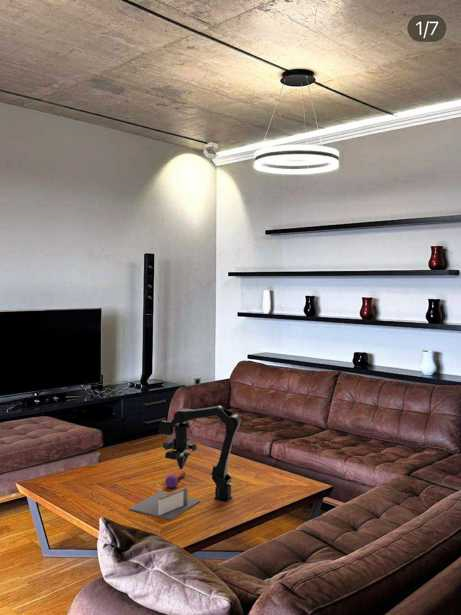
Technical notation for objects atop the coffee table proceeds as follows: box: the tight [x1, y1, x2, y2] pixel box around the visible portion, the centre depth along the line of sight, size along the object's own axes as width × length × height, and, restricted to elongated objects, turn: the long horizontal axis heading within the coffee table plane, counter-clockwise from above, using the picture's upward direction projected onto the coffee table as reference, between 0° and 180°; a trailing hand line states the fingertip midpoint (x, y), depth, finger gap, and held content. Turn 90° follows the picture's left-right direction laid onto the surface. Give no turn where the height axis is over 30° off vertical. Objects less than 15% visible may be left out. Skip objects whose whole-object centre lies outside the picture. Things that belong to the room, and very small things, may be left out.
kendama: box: [164, 469, 186, 489], centre depth 296 cm, size 6×6×20 cm
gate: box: [158, 488, 184, 515], centre depth 258 cm, size 14×2×7 cm, turn 141°
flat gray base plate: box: [128, 487, 201, 521], centre depth 265 cm, size 22×24×8 cm
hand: (181, 468), depth 279 cm, fingers closed
